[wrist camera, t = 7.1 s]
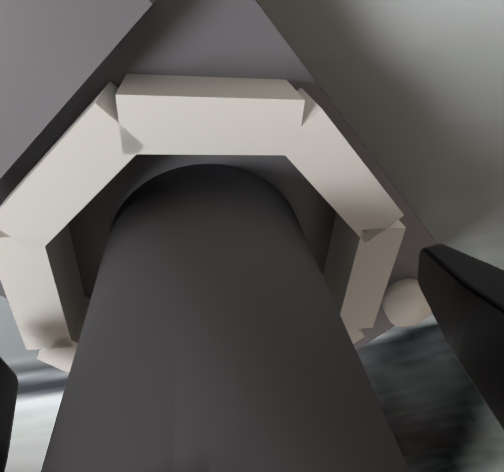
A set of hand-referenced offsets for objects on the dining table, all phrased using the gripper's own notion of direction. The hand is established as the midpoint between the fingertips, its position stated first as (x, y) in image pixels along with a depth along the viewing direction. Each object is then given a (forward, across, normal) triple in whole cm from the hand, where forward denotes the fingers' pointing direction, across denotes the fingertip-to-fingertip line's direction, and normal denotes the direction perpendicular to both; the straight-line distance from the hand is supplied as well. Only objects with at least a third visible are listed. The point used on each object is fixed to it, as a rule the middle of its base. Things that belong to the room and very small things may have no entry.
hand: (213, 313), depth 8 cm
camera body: (+5, 0, 0) cm, 5 cm away
